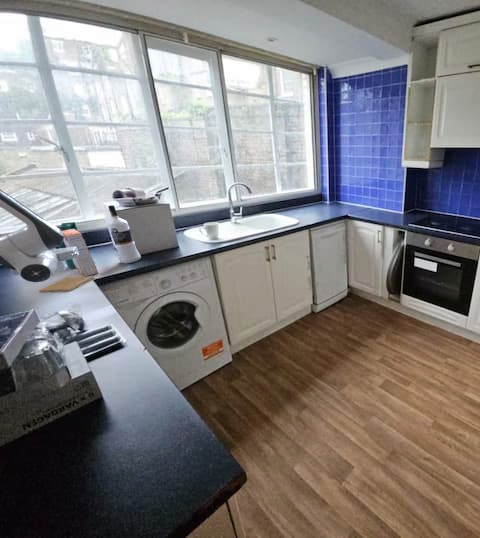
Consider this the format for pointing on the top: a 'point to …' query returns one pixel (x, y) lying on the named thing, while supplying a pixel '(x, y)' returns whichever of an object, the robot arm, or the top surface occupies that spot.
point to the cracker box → (80, 252)
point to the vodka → (122, 238)
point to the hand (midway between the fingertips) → (46, 252)
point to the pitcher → (64, 227)
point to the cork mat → (66, 284)
